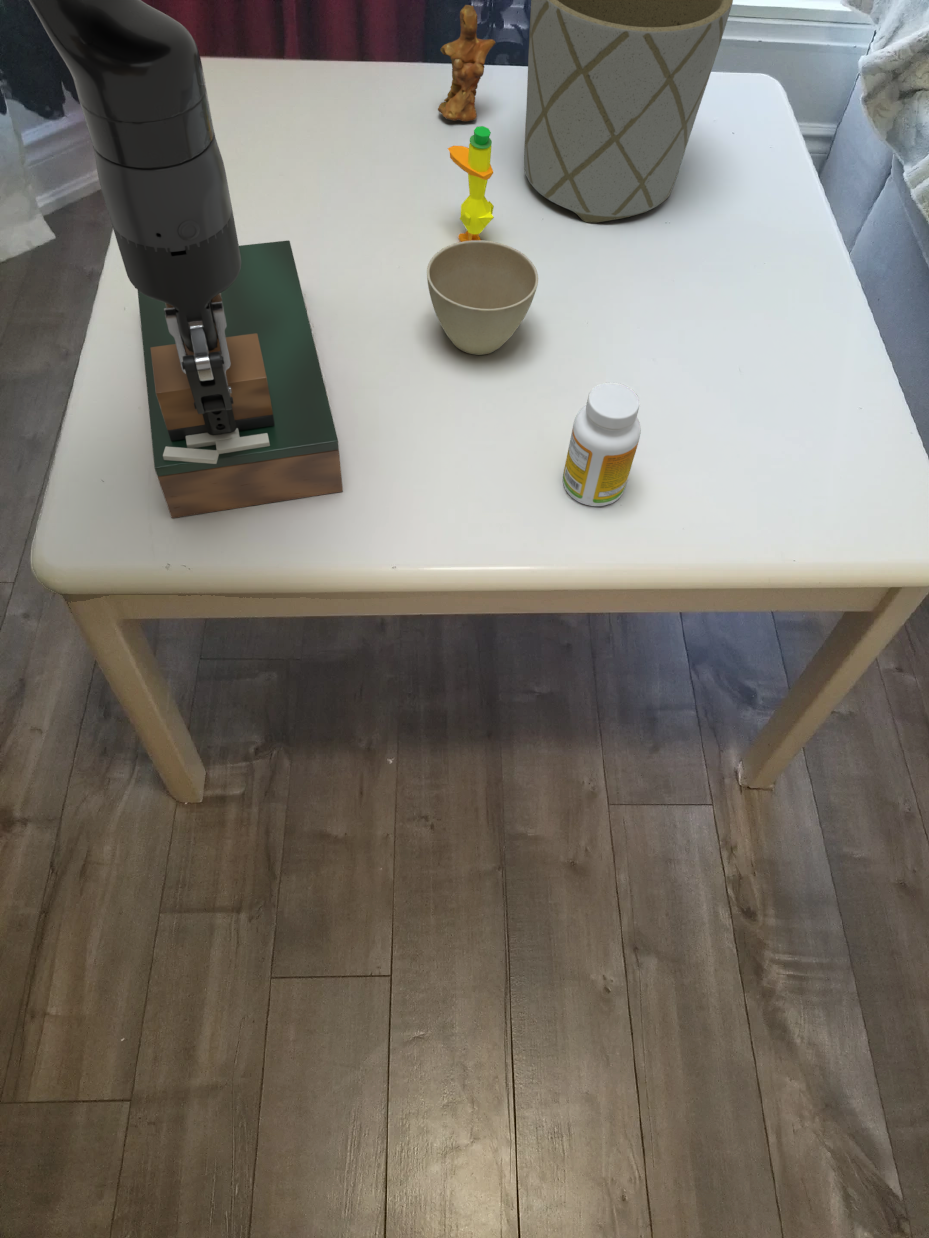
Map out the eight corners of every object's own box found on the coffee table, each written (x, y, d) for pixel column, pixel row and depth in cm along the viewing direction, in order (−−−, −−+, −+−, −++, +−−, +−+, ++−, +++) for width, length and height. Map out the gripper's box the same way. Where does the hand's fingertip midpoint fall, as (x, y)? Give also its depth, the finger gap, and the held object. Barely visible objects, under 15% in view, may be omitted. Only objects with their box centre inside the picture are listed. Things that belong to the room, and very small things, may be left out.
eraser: (265, 382, 74) (257, 333, 70) (275, 426, 72) (266, 377, 68) (165, 396, 73) (150, 347, 69) (170, 441, 70) (155, 393, 66)
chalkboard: (171, 518, 74) (154, 468, 69) (150, 311, 87) (134, 256, 82) (342, 491, 76) (338, 441, 71) (296, 294, 90) (289, 239, 85)
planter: (716, 199, 102) (776, 1, 86) (583, 252, 96) (620, 50, 79) (609, 118, 110) (644, -77, 94) (480, 162, 104) (493, -39, 87)
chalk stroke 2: (188, 449, 70) (186, 444, 70) (186, 440, 71) (185, 435, 70) (240, 441, 71) (239, 436, 70) (238, 432, 71) (237, 427, 71)
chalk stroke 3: (217, 454, 70) (216, 450, 70) (216, 445, 70) (214, 440, 70) (270, 446, 71) (269, 442, 70) (268, 437, 71) (267, 432, 71)
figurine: (479, 133, 107) (486, 21, 97) (432, 123, 108) (435, 11, 98) (490, 114, 110) (498, 3, 100) (445, 104, 110) (448, -7, 100)
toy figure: (435, 230, 97) (438, 116, 86) (460, 218, 98) (466, 104, 88) (478, 262, 94) (486, 148, 84) (503, 248, 95) (514, 135, 85)
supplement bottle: (630, 470, 79) (656, 386, 71) (616, 515, 76) (640, 432, 68) (571, 453, 80) (589, 368, 72) (554, 497, 77) (571, 413, 69)
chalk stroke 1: (163, 460, 69) (162, 455, 69) (166, 450, 70) (165, 446, 70) (216, 464, 69) (215, 459, 69) (219, 454, 70) (217, 450, 70)
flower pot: (510, 385, 84) (517, 322, 78) (409, 355, 86) (409, 291, 80) (542, 319, 90) (552, 256, 84) (447, 293, 91) (450, 228, 85)
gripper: (102, 148, 60) (161, 350, 75) (115, 286, 53) (177, 480, 67) (217, 138, 62) (253, 338, 76) (245, 270, 54) (279, 464, 69)
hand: (217, 404), depth 72 cm, fingers closed on eraser, 5 cm apart
